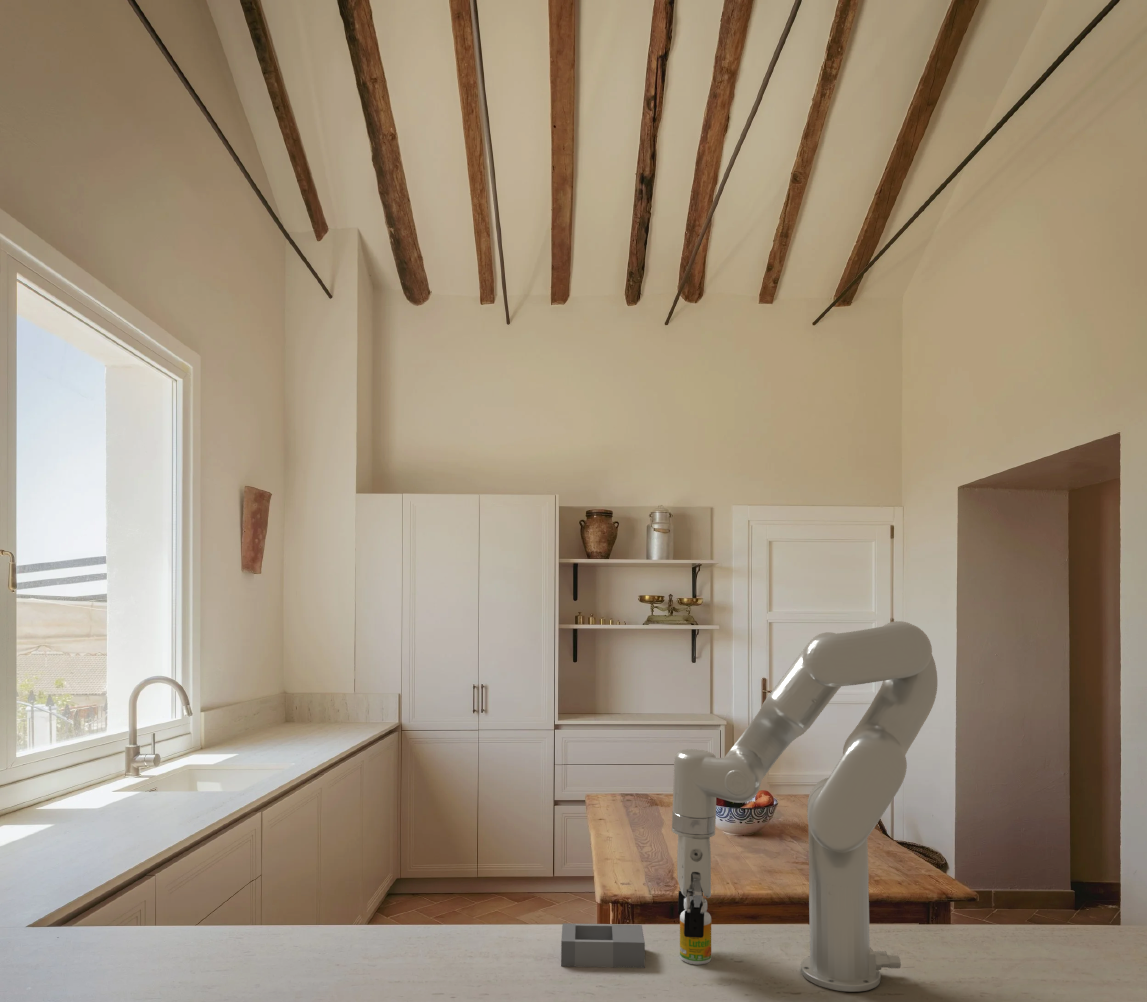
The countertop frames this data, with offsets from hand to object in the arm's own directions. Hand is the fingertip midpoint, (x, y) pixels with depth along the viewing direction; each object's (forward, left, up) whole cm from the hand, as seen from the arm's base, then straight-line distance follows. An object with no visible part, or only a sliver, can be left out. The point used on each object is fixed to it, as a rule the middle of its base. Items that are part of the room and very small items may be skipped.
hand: (690, 925), depth 153 cm
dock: (+15, 0, -5) cm, 16 cm away
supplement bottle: (-1, 0, -6) cm, 6 cm away
